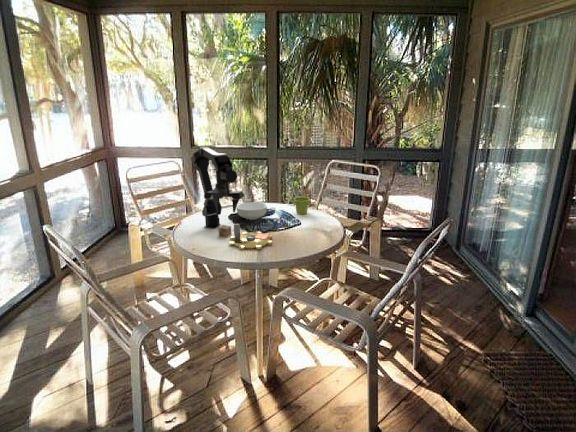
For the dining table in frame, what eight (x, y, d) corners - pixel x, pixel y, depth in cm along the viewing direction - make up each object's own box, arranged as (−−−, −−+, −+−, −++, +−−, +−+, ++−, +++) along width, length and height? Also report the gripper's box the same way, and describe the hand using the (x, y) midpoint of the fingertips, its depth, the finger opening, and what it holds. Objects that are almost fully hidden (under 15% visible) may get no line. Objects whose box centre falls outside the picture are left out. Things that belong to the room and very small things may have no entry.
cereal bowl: (265, 212, 230) (265, 201, 228) (268, 221, 214) (268, 209, 212) (236, 214, 228) (236, 202, 226) (237, 223, 212) (236, 210, 210)
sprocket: (220, 246, 180) (219, 226, 177) (240, 231, 199) (240, 213, 196) (262, 252, 173) (262, 231, 170) (279, 236, 192) (279, 217, 189)
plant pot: (310, 215, 224) (310, 201, 221) (293, 215, 224) (293, 201, 222) (309, 210, 233) (309, 196, 230) (293, 210, 233) (293, 196, 231)
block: (219, 236, 193) (218, 227, 192) (223, 233, 197) (222, 225, 196) (227, 237, 192) (226, 228, 191) (231, 234, 196) (230, 226, 195)
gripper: (196, 183, 182) (200, 215, 186) (233, 183, 177) (236, 216, 181) (207, 179, 192) (211, 210, 196) (243, 179, 187) (245, 211, 191)
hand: (225, 212), depth 191 cm, fingers open, 9 cm apart
